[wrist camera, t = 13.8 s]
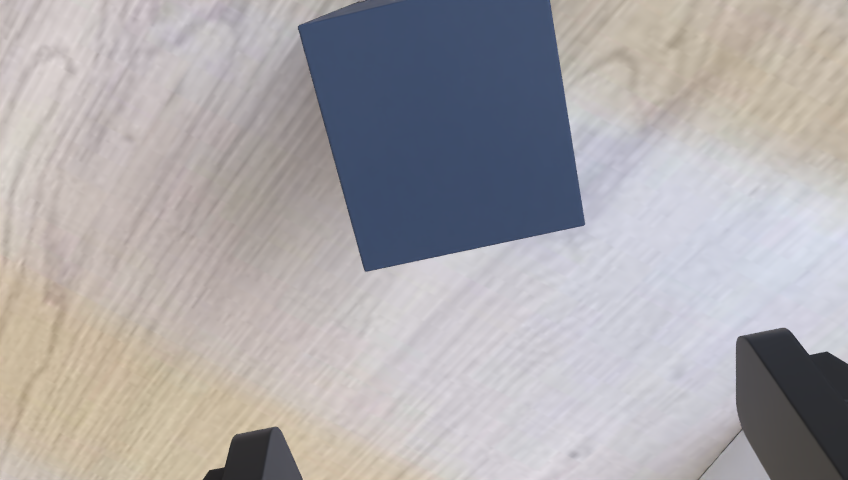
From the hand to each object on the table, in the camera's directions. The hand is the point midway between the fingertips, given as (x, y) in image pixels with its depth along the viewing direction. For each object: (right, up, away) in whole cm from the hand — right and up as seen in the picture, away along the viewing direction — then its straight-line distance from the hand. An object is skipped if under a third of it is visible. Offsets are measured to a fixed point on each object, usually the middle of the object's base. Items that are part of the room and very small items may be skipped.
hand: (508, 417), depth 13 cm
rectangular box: (-2, +11, +10) cm, 14 cm away
